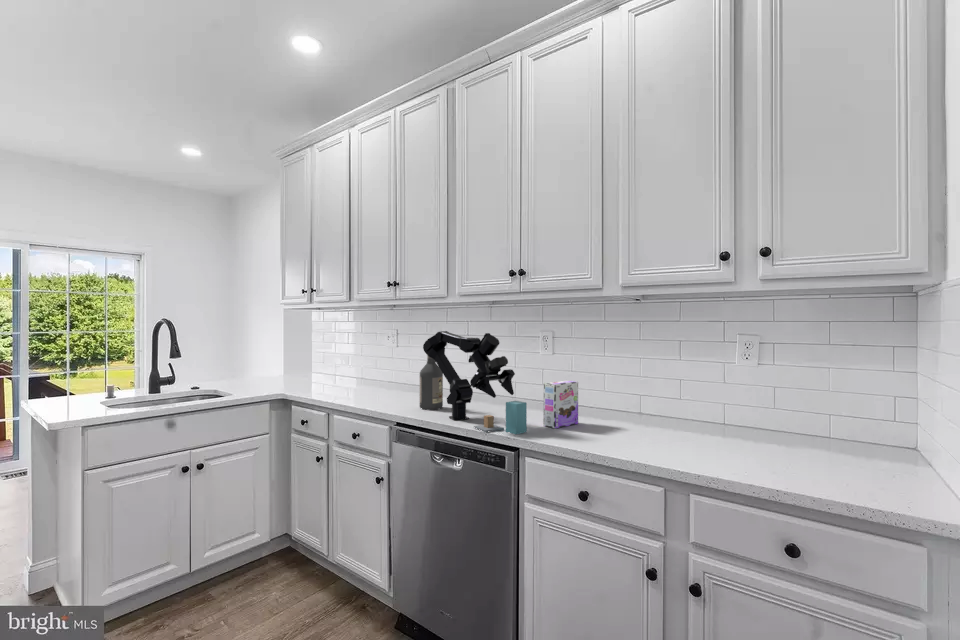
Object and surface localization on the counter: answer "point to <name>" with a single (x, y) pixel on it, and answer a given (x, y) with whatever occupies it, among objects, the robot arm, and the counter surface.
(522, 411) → the teal rectangular block
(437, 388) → the liquor
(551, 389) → the candy box
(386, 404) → the counter surface
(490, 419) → the post stand
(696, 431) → the counter surface
